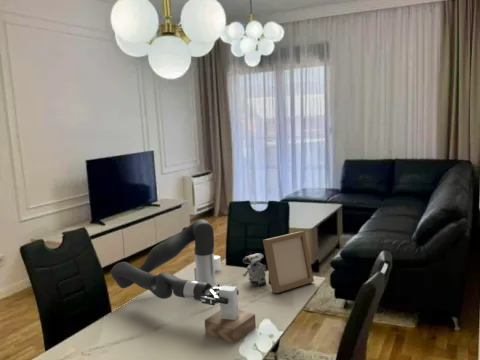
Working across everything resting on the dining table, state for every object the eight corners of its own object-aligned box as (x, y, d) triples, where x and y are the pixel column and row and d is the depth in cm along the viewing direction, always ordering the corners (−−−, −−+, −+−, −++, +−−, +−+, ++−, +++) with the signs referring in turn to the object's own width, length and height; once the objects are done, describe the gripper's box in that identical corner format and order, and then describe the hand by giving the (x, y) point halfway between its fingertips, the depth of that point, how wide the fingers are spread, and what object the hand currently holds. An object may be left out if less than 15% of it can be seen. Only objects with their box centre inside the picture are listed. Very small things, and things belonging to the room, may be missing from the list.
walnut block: (205, 334, 170) (204, 319, 169) (228, 319, 181) (227, 306, 180) (234, 344, 162) (233, 329, 161) (255, 328, 173) (255, 314, 172)
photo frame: (314, 283, 213) (312, 233, 209) (277, 295, 202) (274, 242, 198) (295, 275, 225) (293, 227, 222) (259, 285, 214) (256, 235, 211)
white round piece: (208, 267, 242) (207, 255, 241) (221, 266, 243) (220, 254, 241) (208, 272, 235) (208, 259, 234) (221, 271, 236) (220, 258, 235)
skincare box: (239, 315, 172) (237, 286, 169) (235, 320, 168) (233, 291, 165) (224, 313, 174) (222, 285, 171) (220, 318, 170) (218, 289, 167)
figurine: (239, 283, 217) (238, 254, 215) (259, 278, 223) (258, 250, 220) (249, 289, 209) (247, 259, 207) (269, 284, 215) (268, 254, 212)
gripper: (207, 292, 183) (242, 298, 175) (188, 307, 170) (224, 314, 163) (206, 275, 182) (241, 280, 174) (186, 288, 169) (223, 294, 162)
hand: (233, 296), depth 169 cm, fingers open, 8 cm apart
